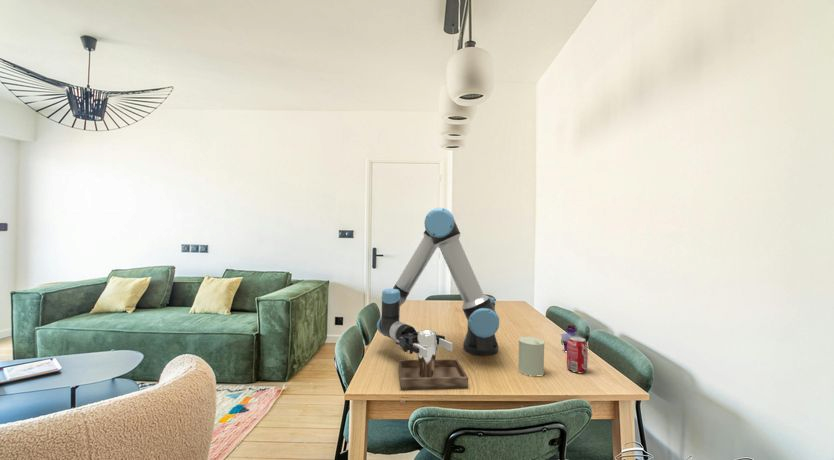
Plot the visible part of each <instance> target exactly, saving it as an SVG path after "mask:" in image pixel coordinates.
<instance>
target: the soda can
mask: <svg viewBox="0 0 834 460" xmlns="http://www.w3.org/2000/svg"><path fill="white" fill-rule="evenodd" d="M586 340H587V339H586V338H584V337H582V336H581V337H577V336H571V337H569V340H568V341H567V353H566V368H567V369H569V371H570V370H572V371H575V372H584V373H585V372H587V371H588V362H589V361H588V358H589V357H588V356H589V355H588V353H589V352H588V351H589V348H588V347H589V346H588V343H587V341H586ZM572 371H571V372H572ZM575 372H574V373H575Z"/></svg>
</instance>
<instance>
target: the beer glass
mask: <svg viewBox="0 0 834 460" xmlns="http://www.w3.org/2000/svg"><path fill="white" fill-rule="evenodd" d="M417 332H418V335H417V343H416V344H417V345H419V346H422V347H424V348H426V349H427V358H424V357H422V356H421V355H419V354H417V358H418V359H417V360H419V372H418V377H419V378H430V377H436V375H435V369H434V365H435V360H436V359H437V350H438V345H437V336H436V335H437V332H436V331H434V330H430V329H429V330H428V329H425V330H424V329H423V330H419V331H417Z"/></svg>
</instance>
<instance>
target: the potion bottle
mask: <svg viewBox="0 0 834 460" xmlns="http://www.w3.org/2000/svg"><path fill="white" fill-rule="evenodd" d="M565 329H566V331H567V333H561V334H560V336H561V340H560V343H561V345H562V346H563V347H564V352H565V351H567V341H568V340H569V337H571V336H577V337H582V336H580V335H577V334H576V333H577V332H578V330H577V327H576V325H575V324H572V323H568V324H567V326H566V327H565Z"/></svg>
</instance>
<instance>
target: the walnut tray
mask: <svg viewBox="0 0 834 460" xmlns="http://www.w3.org/2000/svg"><path fill="white" fill-rule="evenodd" d="M397 369H398V377H399V387H400V391H417V390H418V391H421V390H424V391H425V390H427V391H428V390H458V389H459V390H461V389H465V390H466V389H469V376H468V375H467V373H466V372H465V369H464V368H463V367H462V365H461V363H460V361H459V360H458V358H454V359H451V358H449V359H446V358H445V359H444V358H443V359H442V358H441V359H435V365H434V369H435V375H436V377H430V378H419V377H418V372H419V360H418V359H401V360H400V359H399V360H398V368H397Z"/></svg>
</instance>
